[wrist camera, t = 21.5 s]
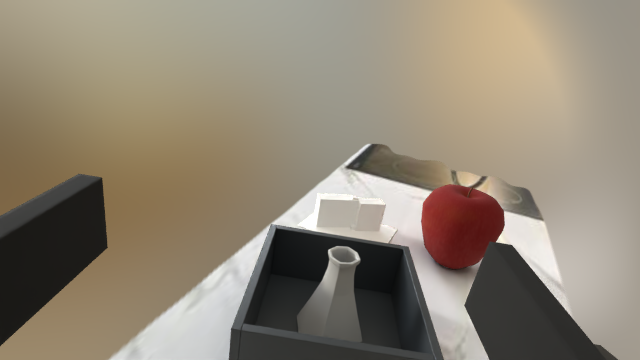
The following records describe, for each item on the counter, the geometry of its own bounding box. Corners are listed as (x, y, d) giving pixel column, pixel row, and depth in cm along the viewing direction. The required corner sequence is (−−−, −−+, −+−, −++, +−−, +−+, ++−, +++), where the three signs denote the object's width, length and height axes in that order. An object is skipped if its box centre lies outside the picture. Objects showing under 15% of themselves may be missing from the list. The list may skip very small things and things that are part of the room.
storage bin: (225, 395, 32) (231, 328, 29) (265, 274, 48) (271, 224, 45) (420, 427, 32) (445, 363, 29) (394, 295, 48) (408, 246, 45)
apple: (488, 259, 61) (516, 187, 56) (480, 294, 52) (513, 212, 47) (420, 232, 66) (440, 165, 61) (401, 261, 56) (423, 183, 51)
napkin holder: (296, 225, 62) (301, 195, 60) (324, 203, 71) (329, 176, 69) (380, 257, 56) (388, 225, 54) (397, 228, 66) (405, 201, 64)
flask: (286, 314, 41) (297, 239, 37) (340, 301, 44) (355, 232, 41) (312, 366, 35) (329, 283, 32) (373, 347, 39) (394, 270, 35)
